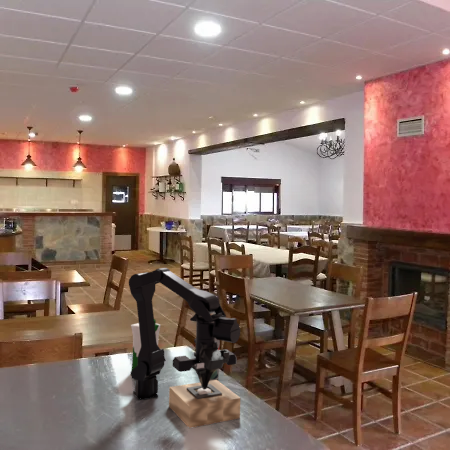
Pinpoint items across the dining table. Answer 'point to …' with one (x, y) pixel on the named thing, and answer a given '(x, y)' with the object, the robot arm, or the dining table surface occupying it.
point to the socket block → (204, 404)
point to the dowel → (203, 391)
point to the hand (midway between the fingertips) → (204, 388)
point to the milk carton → (138, 341)
